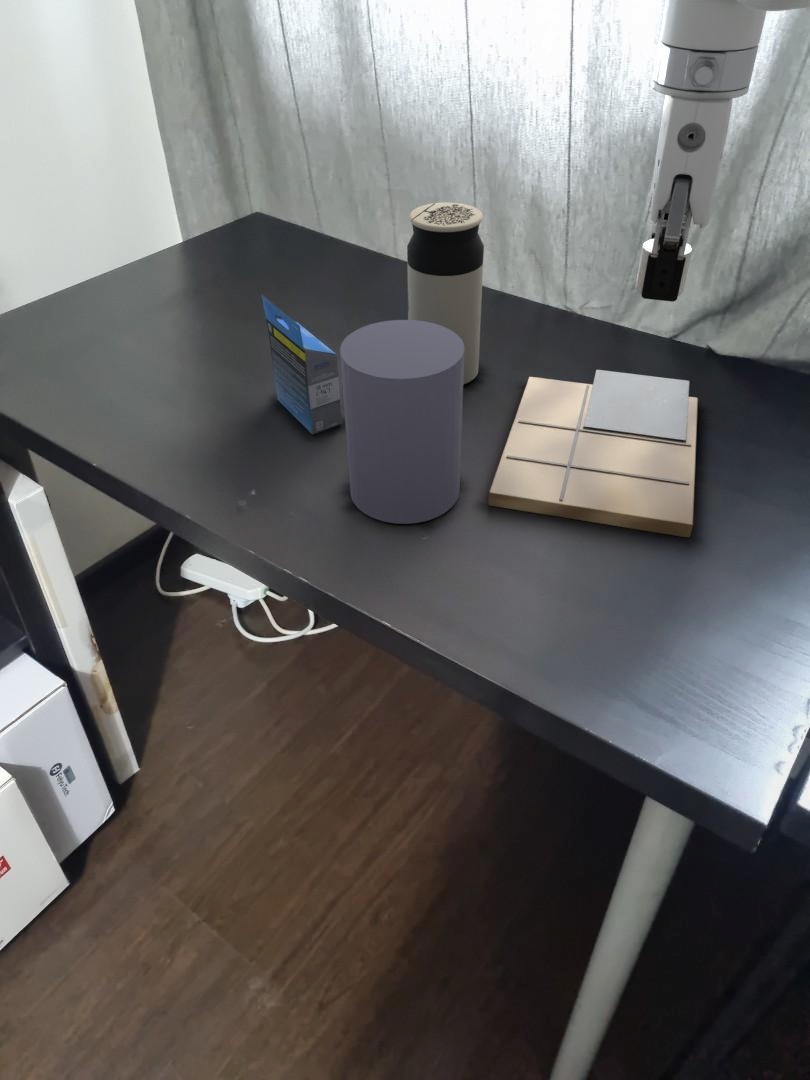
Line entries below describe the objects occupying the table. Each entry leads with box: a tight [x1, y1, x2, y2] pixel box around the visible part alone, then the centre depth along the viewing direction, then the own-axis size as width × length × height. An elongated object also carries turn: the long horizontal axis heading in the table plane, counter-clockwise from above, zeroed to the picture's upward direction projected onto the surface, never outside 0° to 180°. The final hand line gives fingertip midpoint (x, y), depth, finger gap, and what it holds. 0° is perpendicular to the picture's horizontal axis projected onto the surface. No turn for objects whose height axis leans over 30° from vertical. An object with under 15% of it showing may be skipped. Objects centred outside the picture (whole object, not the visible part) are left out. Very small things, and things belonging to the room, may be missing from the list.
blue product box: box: [261, 294, 343, 435], centre depth 85 cm, size 9×4×12 cm, turn 32°
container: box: [339, 319, 464, 525], centre depth 73 cm, size 10×10×15 cm
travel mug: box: [406, 201, 485, 385], centre depth 89 cm, size 8×8×18 cm
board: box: [487, 369, 699, 538], centre depth 83 cm, size 18×25×2 cm
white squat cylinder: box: [635, 238, 693, 297], centre depth 77 cm, size 4×4×4 cm
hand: (660, 285), depth 78 cm, fingers closed on white squat cylinder, 4 cm apart
